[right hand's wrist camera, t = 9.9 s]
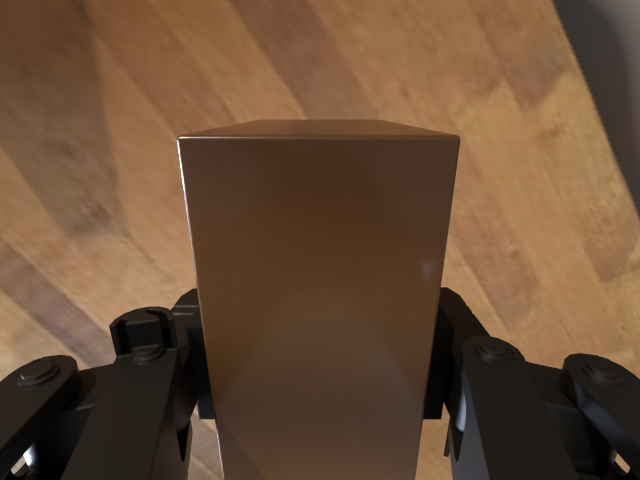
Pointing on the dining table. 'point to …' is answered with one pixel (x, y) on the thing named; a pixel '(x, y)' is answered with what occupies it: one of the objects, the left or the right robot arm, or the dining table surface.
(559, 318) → the dining table surface
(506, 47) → the dining table surface
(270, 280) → the bar
